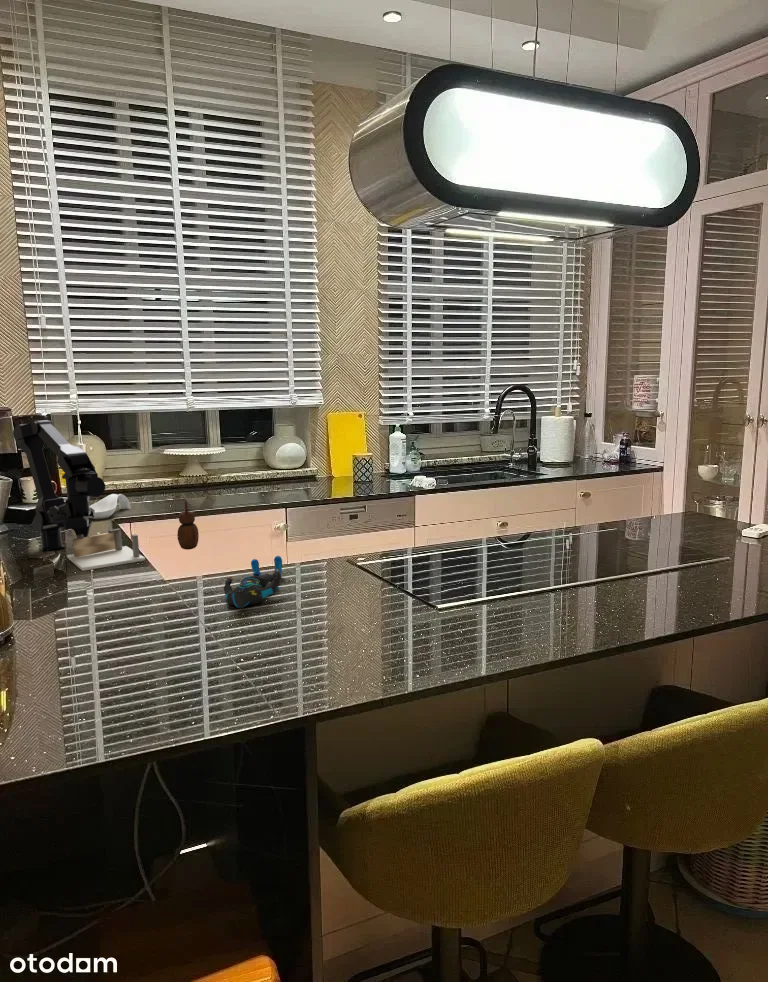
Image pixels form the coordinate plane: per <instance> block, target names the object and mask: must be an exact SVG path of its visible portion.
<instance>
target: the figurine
mask: <svg viewBox="0 0 768 982" xmlns="http://www.w3.org/2000/svg"><path fill="white" fill-rule="evenodd" d="M273 562H274V571H272V573H271V574H269V573H265V574H262V573H261V571H260V563H259V560H258V559H256V558H253V559H252V560H251V562H250V565H251V569H252V575H251V576H250V575H249V576H245V577H244V578H243V579H242V580H241V581H240V583H239V584H238V585H237V586H236V587H235V588H234V589H232V586H231V585H232V584H233V582H234V579H235V578H234V577H233V576H229V577H227V578H226V580H225V584H224V586H223V590H224V598H225V600H226V602H227V604H228V605H231V606H235V607H236V608H237V609H243V608H244V607H246V606H250V605H251V606H252V605H256V604H259V603H261V602H262V601H264V600H265V599H266V598H268V597H270V596H272V595H273V593H274V592H275V591H278V590H280V587H279V584H280V582H281V580H282V572H283V571H282V568H283V559H282V556H280V555H276V556H275V557H274V559H273Z"/></svg>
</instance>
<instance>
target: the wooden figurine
mask: <svg viewBox="0 0 768 982" xmlns="http://www.w3.org/2000/svg"><path fill="white" fill-rule="evenodd" d="M187 501H188V500H185V501H184V511H181V512H180V513H179V515H178V522H179V523H180V525H179V527H178V528H177V541H178V544H179V546H180V548H181V549H182V550H187V551H189V550H193V549H195V548H196V547H198V544H199V538H200V537H199V528H198V526H197V525H196V523H195V521H196V516H195V513H194V512H193V511H190V510H189V509H188V502H187Z"/></svg>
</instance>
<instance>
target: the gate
mask: <svg viewBox="0 0 768 982" xmlns="http://www.w3.org/2000/svg"><path fill="white" fill-rule="evenodd" d="M114 532H122V529H121V528H114V529H110V530H108V531H107V532H103V533H100V534H94V535H88V537H84V536H83V535H82V534H81V535H77V536H76V538H74V539H73V538H72V547H73V548H72V549H73V554H74V557H81V556H85V555H90V554H95V553H99V552H104V551H108V550H113V549H115V540H114Z"/></svg>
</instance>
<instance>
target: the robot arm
mask: <svg viewBox="0 0 768 982" xmlns="http://www.w3.org/2000/svg"><path fill="white" fill-rule="evenodd" d="M12 436H13V438H14V440H15V443H16V445H17V447H18V448H19V449H20V450H21V451H23V453H25V456H26V459H27V462H28V466H29V467H28V468H29V470H30V473H31V478H32V481H33V484H34V488H35V492H36V495H37V502H36V504H35V507H34V509H35V510H34V511H35V515H34V518H33V520H32V522H31V526H32V527H31V528H32V530H33V531H36V532H40V540H41V541H40V543H41V545H39V546H38V548H39V549H40V550H41V551H42V552H45V551H52V550H59V549H65V548H66V545H64V544H63V543H62V533H61V528H63V529H64V530H73V531H74V534H75V536H76V537H77V535H81V534H82V535H83V536H84V537H88V536H89V535H90V530H91V527H92V524H93V522H94V521H93V520H89V519H90V517H89V516H92V518H91V519H93V518H94V517H95V510H94V509H92V508H89V506H90V501H89V500H90V499H91V498H90V497H94V498H99V497H100V496H102V495H103V494H104V493H105V491H106V483H105V480H103V479H102V478H101V477H99V474H98V472H97V471H96V467H95V466H94V464H93V462H92V461H91V459H90V457H89V455H88V454H87V453H86V451H84V449H82V448H80V447H79V446H76V445H72V444H71V443H70V442H69V441H68V440H67V439H66V438H65V437H64V436H63V435H62V434H61V432H59V431H58V430H57V429H56V427H55V425H54V424H53V422H52V421H51V420H48V419H43V420H34V421H32V422H30V423H20V424H17V425H16V426H15V428H14V429H13V431H12ZM45 445H47V447H49V449H50V450H51V451H52V452H53V453H54V454H55V455H56V458H57V460H56V463H57V465H58V466H59V467H60V468H59V469H61V470H62V471H63V472H64V474H62V476H61V478H62V479H64V480H65V487H66V489H65V490H66V498H67V499H64V498H63V497H59V496H58V495H57V493H56V491H55V490H54V485H53V482H52V478H51V475H50V471H49V468H48V463H47V460H46V457H45V453H44V447H45Z"/></svg>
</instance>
